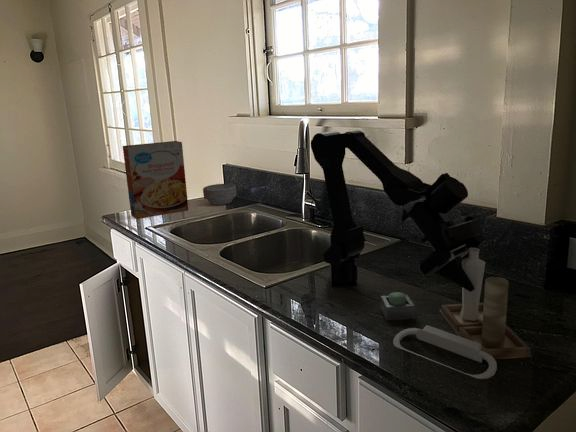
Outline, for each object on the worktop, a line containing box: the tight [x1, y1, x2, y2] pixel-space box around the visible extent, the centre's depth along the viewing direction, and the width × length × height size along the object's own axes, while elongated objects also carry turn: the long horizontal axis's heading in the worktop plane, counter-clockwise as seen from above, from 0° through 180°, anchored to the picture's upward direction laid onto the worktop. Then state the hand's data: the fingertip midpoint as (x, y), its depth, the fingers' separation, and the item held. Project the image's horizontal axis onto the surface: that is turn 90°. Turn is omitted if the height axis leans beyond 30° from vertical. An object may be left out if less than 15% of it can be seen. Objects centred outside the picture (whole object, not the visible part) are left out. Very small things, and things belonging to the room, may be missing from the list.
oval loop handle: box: [392, 324, 498, 380], centre depth 92 cm, size 20×8×4 cm, turn 43°
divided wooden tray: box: [438, 302, 533, 361], centre depth 100 cm, size 10×21×2 cm, turn 2°
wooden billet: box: [481, 276, 510, 349], centre depth 93 cm, size 4×4×13 cm
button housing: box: [380, 294, 416, 321], centre depth 109 cm, size 6×6×4 cm
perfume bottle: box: [460, 248, 486, 321], centre depth 103 cm, size 5×4×15 cm
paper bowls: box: [202, 183, 237, 206], centre depth 230 cm, size 15×15×8 cm
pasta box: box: [122, 140, 189, 220], centre depth 213 cm, size 23×8×30 cm, turn 122°
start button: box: [388, 291, 407, 305], centre depth 109 cm, size 4×4×4 cm
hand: (478, 287), depth 102 cm, fingers closed on perfume bottle, 4 cm apart
